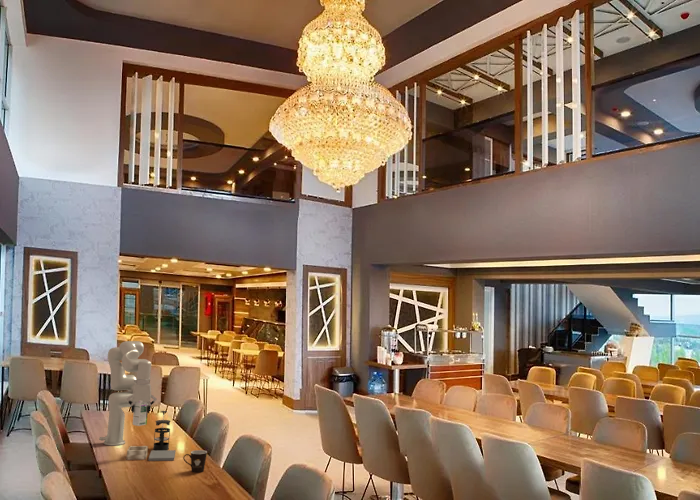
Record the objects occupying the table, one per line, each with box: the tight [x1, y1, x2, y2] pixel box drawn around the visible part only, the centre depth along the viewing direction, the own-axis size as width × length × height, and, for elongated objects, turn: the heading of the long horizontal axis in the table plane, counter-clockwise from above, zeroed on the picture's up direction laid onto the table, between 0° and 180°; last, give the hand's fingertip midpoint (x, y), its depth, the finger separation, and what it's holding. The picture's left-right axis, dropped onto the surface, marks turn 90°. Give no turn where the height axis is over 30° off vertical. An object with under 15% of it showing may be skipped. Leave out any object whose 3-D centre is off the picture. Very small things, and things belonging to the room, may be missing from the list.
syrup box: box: [132, 400, 149, 427], centre depth 338 cm, size 6×6×14 cm
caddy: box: [126, 445, 149, 461], centre depth 336 cm, size 10×10×5 cm
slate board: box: [148, 449, 176, 462], centre depth 339 cm, size 14×18×2 cm
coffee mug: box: [183, 449, 208, 474], centre depth 314 cm, size 12×9×10 cm
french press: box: [152, 410, 171, 451], centre depth 358 cm, size 12×9×23 cm
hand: (140, 412), depth 338 cm, fingers closed on syrup box, 8 cm apart
